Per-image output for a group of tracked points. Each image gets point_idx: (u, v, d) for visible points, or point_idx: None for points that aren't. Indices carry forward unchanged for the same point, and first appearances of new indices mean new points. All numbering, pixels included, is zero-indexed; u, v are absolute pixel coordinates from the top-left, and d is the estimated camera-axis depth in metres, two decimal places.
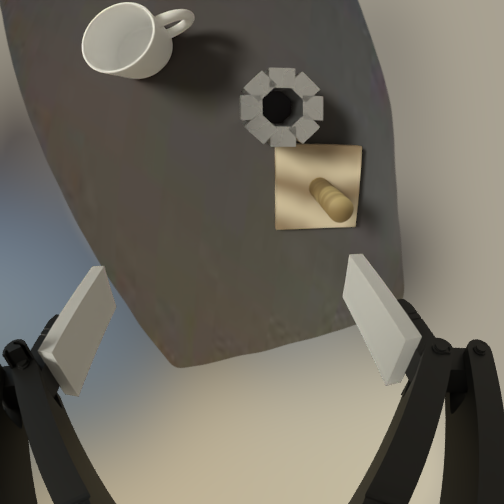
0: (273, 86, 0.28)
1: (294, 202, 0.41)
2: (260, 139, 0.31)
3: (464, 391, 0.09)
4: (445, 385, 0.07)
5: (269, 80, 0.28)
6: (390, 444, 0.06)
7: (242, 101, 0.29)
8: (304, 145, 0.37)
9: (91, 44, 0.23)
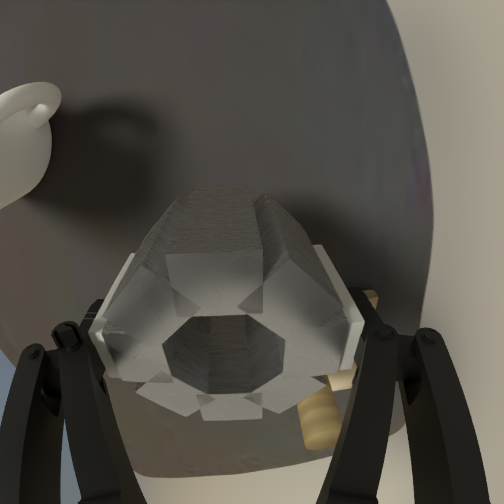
0: (189, 313, 0.09)
1: None
2: (177, 411, 0.12)
3: (418, 380, 0.10)
4: (394, 370, 0.08)
5: (173, 296, 0.09)
6: (345, 436, 0.07)
7: (111, 346, 0.10)
8: None
9: None
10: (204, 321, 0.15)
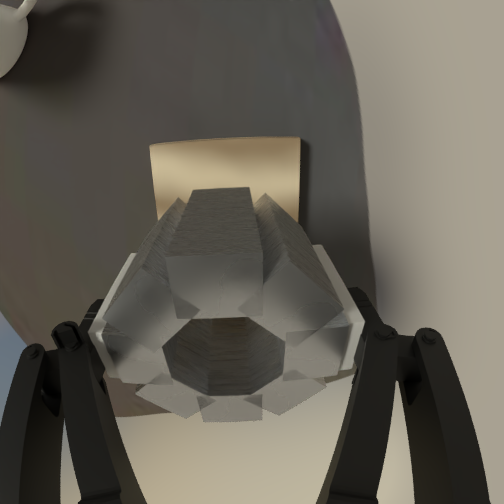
0: (189, 315, 0.09)
1: None
2: (177, 412, 0.12)
3: (419, 380, 0.10)
4: (394, 370, 0.08)
5: (173, 298, 0.09)
6: (345, 436, 0.07)
7: (111, 348, 0.10)
8: (196, 143, 0.22)
9: None
10: (204, 322, 0.15)
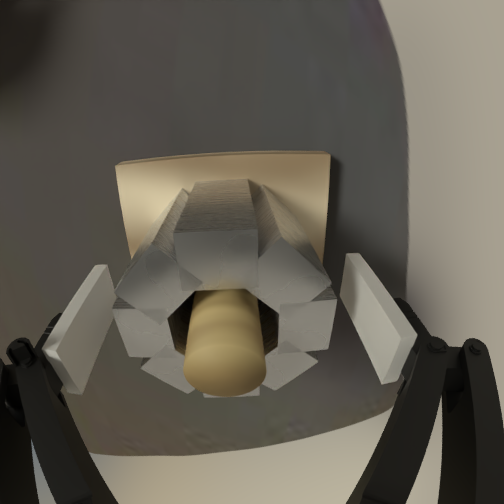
0: (192, 287, 0.11)
1: None
2: (179, 387, 0.13)
3: (460, 390, 0.09)
4: (441, 383, 0.07)
5: (179, 271, 0.10)
6: (387, 443, 0.06)
7: (120, 322, 0.11)
8: (180, 161, 0.15)
9: None
10: None
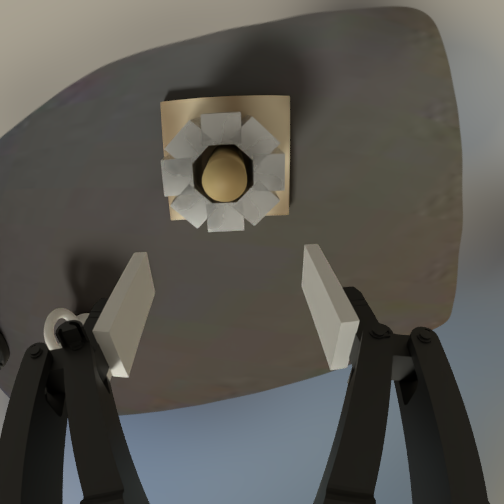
0: (192, 188, 0.22)
1: None
2: (273, 204, 0.23)
3: (414, 379, 0.10)
4: (389, 369, 0.08)
5: (183, 194, 0.22)
6: (342, 436, 0.07)
7: (217, 229, 0.23)
8: None
9: None
10: None
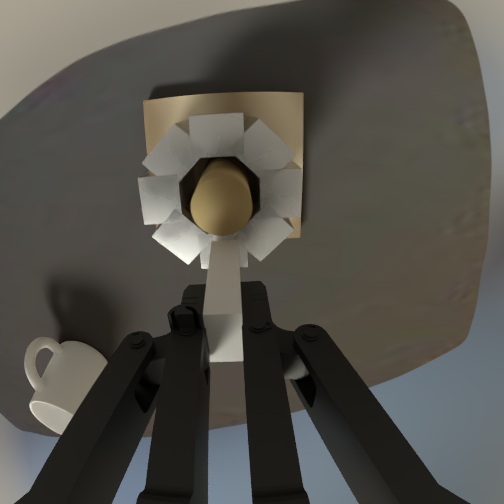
0: (179, 215, 0.17)
1: None
2: (285, 235, 0.18)
3: None
4: (278, 360, 0.09)
5: (168, 222, 0.17)
6: (248, 438, 0.07)
7: None
8: None
9: None
10: (250, 193, 0.21)
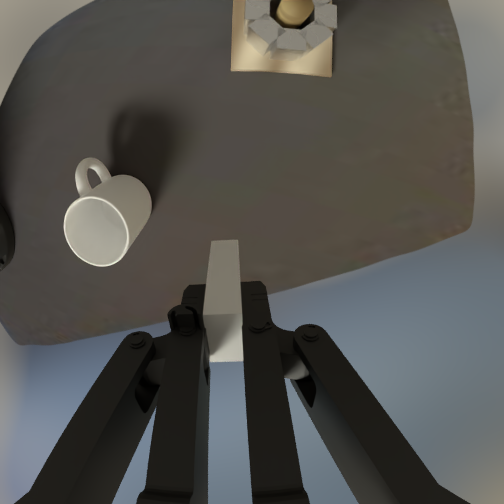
0: (268, 16, 0.22)
1: None
2: (328, 36, 0.23)
3: None
4: (278, 360, 0.09)
5: (260, 19, 0.22)
6: (248, 438, 0.07)
7: (284, 46, 0.23)
8: (233, 40, 0.28)
9: (103, 255, 0.32)
10: None
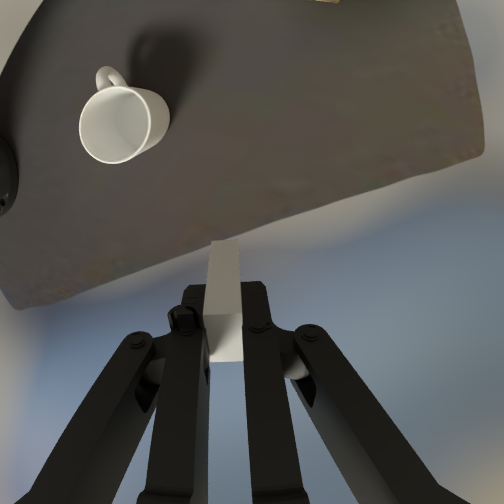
0: None
1: None
2: None
3: None
4: (278, 360, 0.09)
5: None
6: (248, 438, 0.07)
7: None
8: None
9: (118, 157, 0.29)
10: None
